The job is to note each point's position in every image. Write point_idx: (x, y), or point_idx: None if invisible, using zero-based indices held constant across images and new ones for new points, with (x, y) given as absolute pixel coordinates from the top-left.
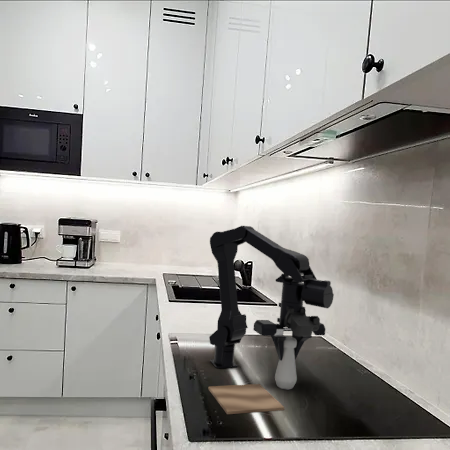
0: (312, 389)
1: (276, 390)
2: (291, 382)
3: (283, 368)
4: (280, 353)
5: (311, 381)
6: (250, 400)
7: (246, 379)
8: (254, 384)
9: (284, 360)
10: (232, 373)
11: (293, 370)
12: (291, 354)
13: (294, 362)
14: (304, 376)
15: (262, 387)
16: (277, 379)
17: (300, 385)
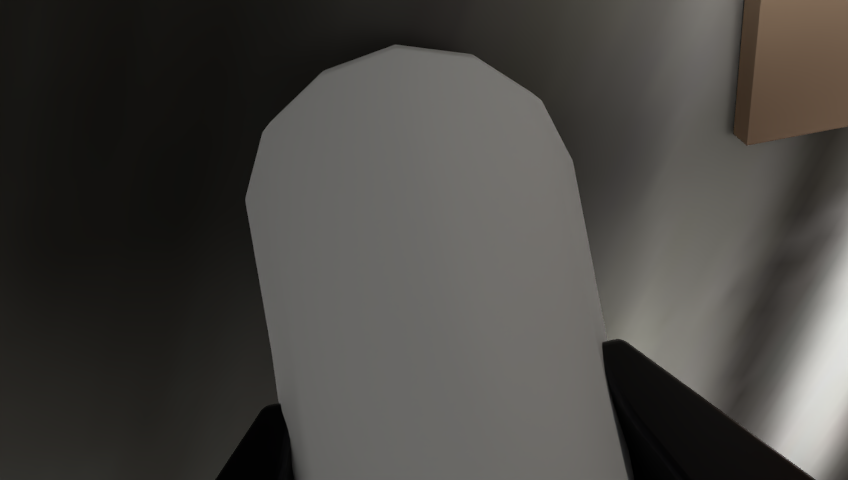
0: (24, 86)
1: (566, 18)
2: (370, 55)
3: (542, 200)
4: (739, 436)
5: (7, 327)
6: None
7: (777, 301)
8: (820, 123)
9: (567, 311)
10: (837, 415)
11: (340, 172)
12: (426, 429)
13: (311, 306)
14: (78, 440)
15: (769, 31)
16: (561, 142)
17: (179, 202)
